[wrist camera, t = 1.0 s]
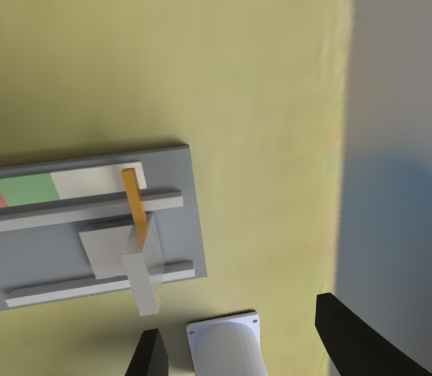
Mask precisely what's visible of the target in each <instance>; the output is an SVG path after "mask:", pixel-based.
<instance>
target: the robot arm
mask: <svg viewBox="0 0 432 376" xmlns="http://www.w3.org/2000/svg"><path fill="white" fill-rule="evenodd" d="M315 327H316V329H317V331H318V333H319V336H320V338H321V340H322V342H323V344H324V346H325V348H326V351H327V352H328V354H329V356H330V358H331V359H332V361H333V363H334V365H335V366H336V368H337V370H338V371H339V373H340V375H341V376H432V373H430V372H429V371H427V370H426V369H425V368H423V367H422V366H420V365H419V364H418V363H416V362H415V361H414V360H412V359H411V358H409V357H408V356H407V355H406V354H404V353H403V352H401V351H400V350H399V349H398V348H396V347H395V346H394V345H392V344H391V343H390V342H389V341H387V340H386V339H385V338H383V337H382V336H381V335H380V334H379V333H377V332H376V331H375V330H374V329H372V328H371V327H370V326H369V325H368V324H366V323H365V322H364V321H363V320H361V319H360V318H359V317H358V316H357V315H356V314H354V313H353V312H352V311H351V310H350V309H349V308H348V307H346V306H345V305H344V304H343V303H342V302H341V301H339V300H338V299H337V298H336V297H335V296H334V295H333V294H331V293H330V292H329V293H324V294H319V295H317V301H316V315H315ZM186 332H187V336H188V341H189V346H190V350H191V355H192V360H193V364H194V369H195V376H268V375H267V372H266V368H265V365H264V362H263V358H262V355H261V351H260V332H259V315H258V313H257V312H250V313H245V314H239V315H234V316H228V317H223V318H217V319H212V320H206V321H201V322H195V323H190V324H188V325H187V326H186ZM125 376H168V355H167V352H166V349H165V346H164V343H163V341H162V338H161V335H160V332H159V329H158V328H157V329H152V330H147V331H144V332H143V333H142V335H141V338H140V340H139V343H138V345H137V348H136V350H135V353H134V355H133V358H132V360H131V362H130V365H129V367H128V369H127V371H126V374H125Z"/></svg>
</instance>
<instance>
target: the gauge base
mask: <svg viewBox="0 0 432 376" xmlns="http://www.w3.org/2000/svg"><path fill="white" fill-rule="evenodd" d="M133 167H134V168H135V172H136V176H137V180H138V184H139V188H140V192H141V196H142V200H143V204H144V208H145V212H146V213H150V212H153V214H154V219H155V223H156V227H157V232H158V236H159V240H160V245H161V249H162V253H163V258H164V262H165V266H164V274H163V282H162V284H165V283H171V282H177V281H183V280H189V279H195V278H201V277H207V272H206V264H205V257H204V250H203V243H202V235H201V228H200V221H199V214H198V207H197V200H196V193H195V186H194V178H193V171H192V164H191V157H190V150H189V145H183V146H175V147H166V148H158V149H149V150H141V151H132V152H124V153H115V154H107V155H98V156H90V157H81V158H73V159H65V160H56V161H48V162H39V163H31V164H22V165H14V166H5V167H0V311H2V310H8V309H14V308H20V307H26V306H32V305H38V304H45V303H51V302H57V301H63V300H69V299H75V298H81V297H87V296H93V295H99V294H105V293H111V292H117V291H123V290H129V289H131V286H130V283H129V280H128V277H127V275H122V276H116V277H110V278H103V279H96V276H95V274H94V271H93V269H92V266H91V264H90V261H89V259H88V256H87V253H86V251H85V248H84V246H83V243H82V241H81V238H80V236H79V231H80V230H81V229H82V227H83V226H84V225H90V224H98V223H105V222H112V221H119V220H126V219H133V216H132V212H131V208H130V205H129V201H128V197H127V194H126V190H125V186H124V183H123V179H122V175H121V171H122V170H123V169H125V168H133Z"/></svg>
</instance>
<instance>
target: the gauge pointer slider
mask: <svg viewBox="0 0 432 376" xmlns="http://www.w3.org/2000/svg"><path fill="white" fill-rule="evenodd" d="M121 175H122V179H123V183H124V186H125V190H126V194H127V197H128V201H129V205H130V208H131V212H132V216H133V219H126V220H119V221H112V222H105V223H98V224H90V225H84V226H83V227H82V229H81V230H80V231H79V236H80V238H81V241H82V243H83V246H84V248H85V251H86V253H87V256H88V259H89V261H90V264H91V266H92V269H93V271H94V274H95V276H96V279H103V278H110V277H116V276H122V275H127V277H128V280H129V283H130V286H131V289H132V292H133V296H134V299H135V302H136V305H137V308H138V311H139V314H140V316H146V315H152V314H157V313H159V307H160V299H161V290H162V282H163V274H164V266H165V262H164V258H163V253H162V249H161V245H160V240H159V236H158V232H157V227H156V223H155V219H154V214H153V212H150V213H146V212H145V208H144V204H143V200H142V196H141V192H140V188H139V184H138V180H137V176H136V172H135V168H134V167H133V168H125V169H123V170H122V171H121Z"/></svg>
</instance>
